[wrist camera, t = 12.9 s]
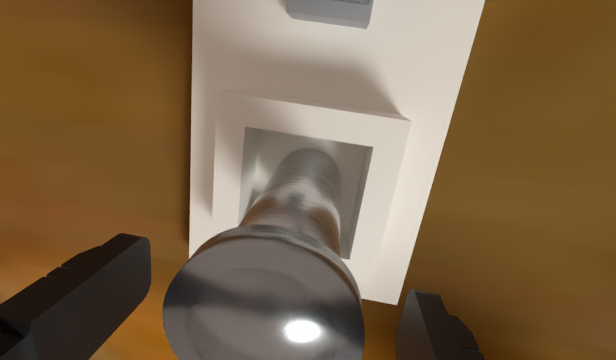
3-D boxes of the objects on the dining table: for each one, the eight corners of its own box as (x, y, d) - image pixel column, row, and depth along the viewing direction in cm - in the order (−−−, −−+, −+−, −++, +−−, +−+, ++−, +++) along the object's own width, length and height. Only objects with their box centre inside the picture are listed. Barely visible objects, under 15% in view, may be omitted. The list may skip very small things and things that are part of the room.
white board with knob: (537, -226, 14) (626, -363, 9) (393, 291, 23) (405, 339, 18) (211, -253, 14) (156, -391, 10) (198, 254, 24) (166, 293, 19)
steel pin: (357, 145, 18) (385, 267, 7) (341, 223, 20) (344, 422, 9) (270, 132, 18) (159, 227, 7) (263, 210, 20) (164, 386, 9)
